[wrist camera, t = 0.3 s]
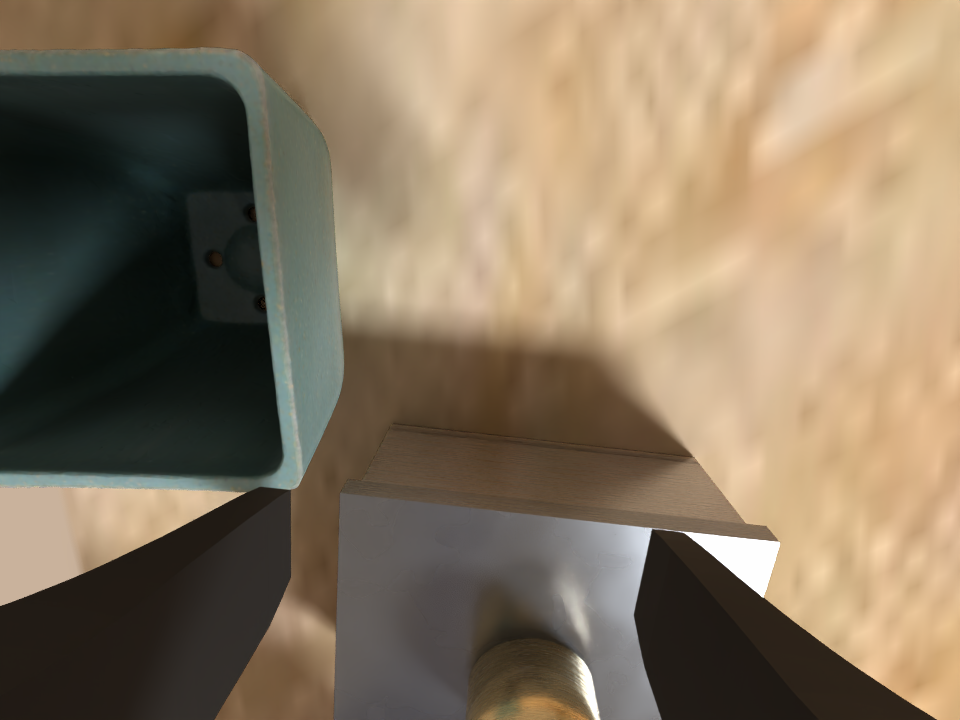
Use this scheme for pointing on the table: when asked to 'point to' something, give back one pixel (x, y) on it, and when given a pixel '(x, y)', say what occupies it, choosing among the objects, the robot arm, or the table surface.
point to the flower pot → (162, 273)
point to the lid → (502, 604)
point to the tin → (548, 472)
